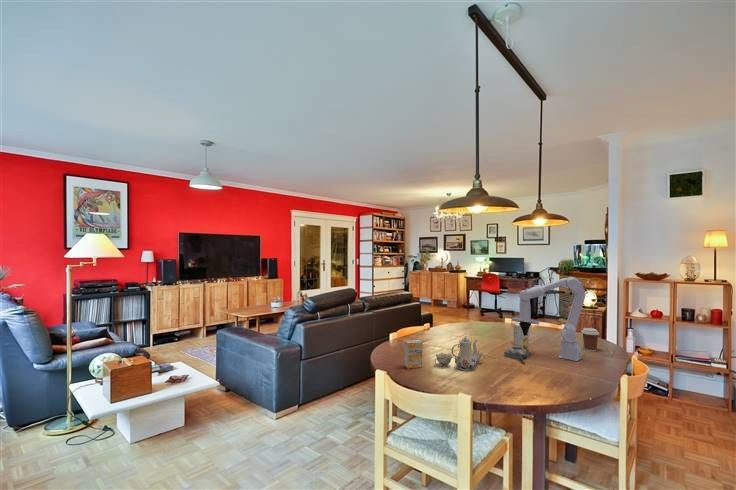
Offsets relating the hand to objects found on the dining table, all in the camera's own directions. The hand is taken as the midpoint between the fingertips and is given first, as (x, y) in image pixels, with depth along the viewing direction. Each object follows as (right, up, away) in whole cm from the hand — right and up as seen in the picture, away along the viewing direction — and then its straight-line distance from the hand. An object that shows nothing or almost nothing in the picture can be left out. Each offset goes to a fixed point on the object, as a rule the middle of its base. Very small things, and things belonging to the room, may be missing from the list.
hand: (525, 335), depth 205 cm
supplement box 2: (+6, -11, +20) cm, 24 cm away
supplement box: (-67, -11, -21) cm, 71 cm away
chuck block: (-7, -10, -5) cm, 13 cm away
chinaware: (-41, -11, -21) cm, 48 cm away
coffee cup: (+41, -10, +7) cm, 43 cm away
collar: (-7, -8, -10) cm, 15 cm away
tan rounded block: (0, -10, +1) cm, 10 cm away
